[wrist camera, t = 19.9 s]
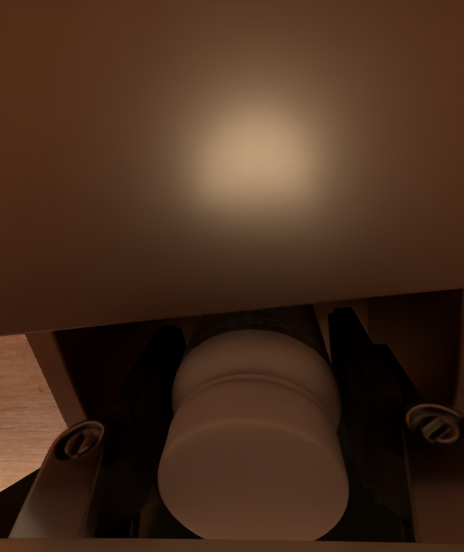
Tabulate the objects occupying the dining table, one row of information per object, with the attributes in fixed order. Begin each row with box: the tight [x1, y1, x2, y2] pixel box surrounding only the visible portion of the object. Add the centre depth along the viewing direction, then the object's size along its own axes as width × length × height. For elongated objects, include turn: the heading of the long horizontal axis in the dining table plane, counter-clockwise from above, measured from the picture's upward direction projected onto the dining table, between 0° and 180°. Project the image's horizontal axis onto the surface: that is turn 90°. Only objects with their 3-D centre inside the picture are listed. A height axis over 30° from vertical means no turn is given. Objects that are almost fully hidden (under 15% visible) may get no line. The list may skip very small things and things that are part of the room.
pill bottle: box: [158, 304, 349, 541], centre depth 10 cm, size 5×5×8 cm
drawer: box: [25, 288, 464, 543], centre depth 12 cm, size 19×12×8 cm, turn 10°
